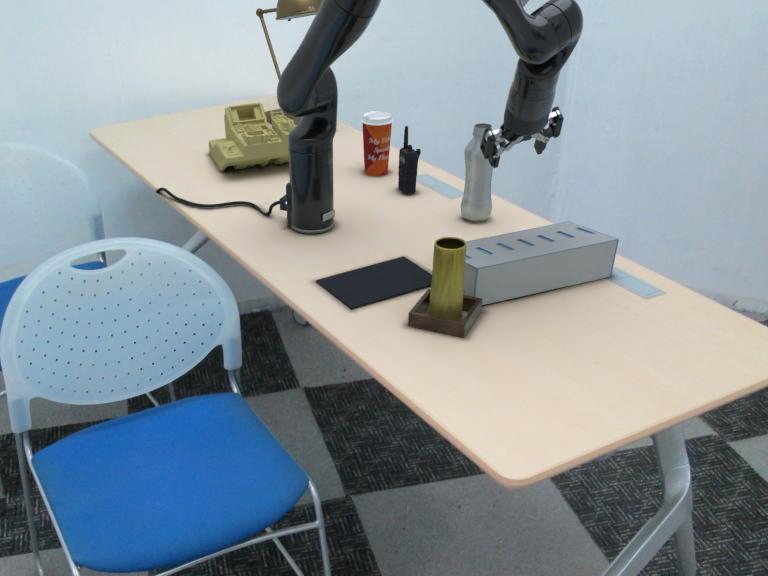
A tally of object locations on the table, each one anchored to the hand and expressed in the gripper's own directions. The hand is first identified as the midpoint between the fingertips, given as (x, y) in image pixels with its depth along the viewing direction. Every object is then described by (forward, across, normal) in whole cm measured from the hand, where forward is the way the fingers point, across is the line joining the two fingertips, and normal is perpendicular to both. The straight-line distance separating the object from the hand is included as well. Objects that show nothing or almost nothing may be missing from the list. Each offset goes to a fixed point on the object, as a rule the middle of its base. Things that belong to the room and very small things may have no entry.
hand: (515, 157), depth 159 cm
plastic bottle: (+27, +4, -4) cm, 27 cm away
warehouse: (+10, +5, +19) cm, 22 cm away
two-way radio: (+36, +13, -21) cm, 44 cm away
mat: (+7, +31, +13) cm, 34 cm away
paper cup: (+44, +17, -33) cm, 58 cm away
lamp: (+72, +30, -77) cm, 109 cm away
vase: (-1, +23, +27) cm, 36 cm away
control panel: (+48, +45, -49) cm, 82 cm away
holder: (-1, +23, +27) cm, 36 cm away
